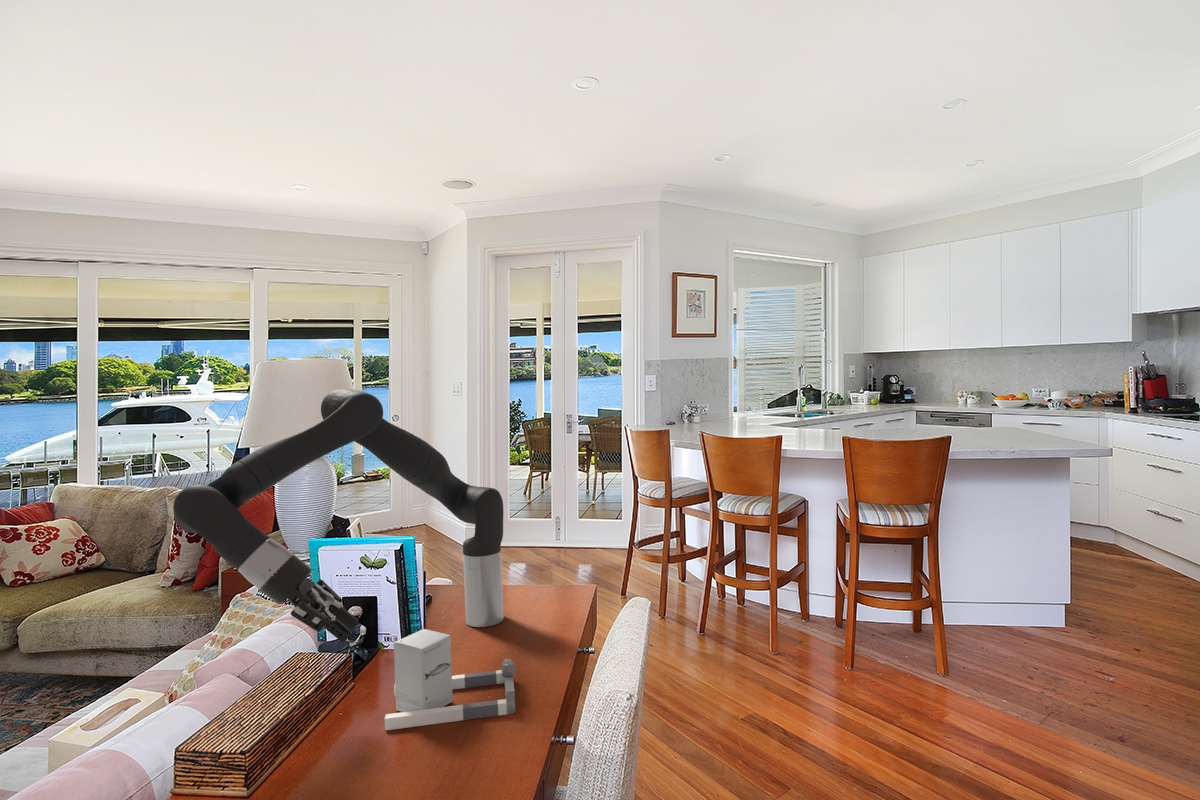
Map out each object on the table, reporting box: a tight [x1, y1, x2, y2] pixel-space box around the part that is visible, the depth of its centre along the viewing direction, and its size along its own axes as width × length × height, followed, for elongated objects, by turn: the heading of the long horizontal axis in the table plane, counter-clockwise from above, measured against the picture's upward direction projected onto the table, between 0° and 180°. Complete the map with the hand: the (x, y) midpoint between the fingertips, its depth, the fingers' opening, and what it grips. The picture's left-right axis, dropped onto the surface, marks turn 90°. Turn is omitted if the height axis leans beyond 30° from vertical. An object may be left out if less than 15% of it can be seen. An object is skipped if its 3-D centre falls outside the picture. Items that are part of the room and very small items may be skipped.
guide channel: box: [384, 658, 516, 731], centre depth 116 cm, size 14×22×6 cm, turn 101°
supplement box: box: [393, 628, 454, 713], centre depth 115 cm, size 7×7×13 cm
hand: (351, 631), depth 112 cm, fingers open, 5 cm apart
